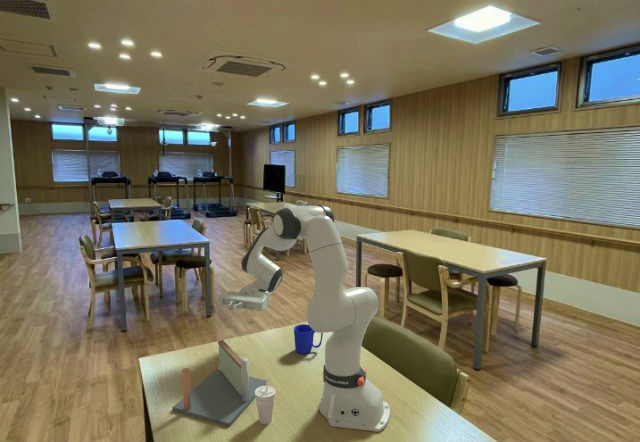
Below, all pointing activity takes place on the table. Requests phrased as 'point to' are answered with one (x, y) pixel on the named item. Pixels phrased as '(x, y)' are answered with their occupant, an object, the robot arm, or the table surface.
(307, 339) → the mug
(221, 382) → the board
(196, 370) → the table surface
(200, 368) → the table surface
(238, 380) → the panel
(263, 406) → the smoothie
